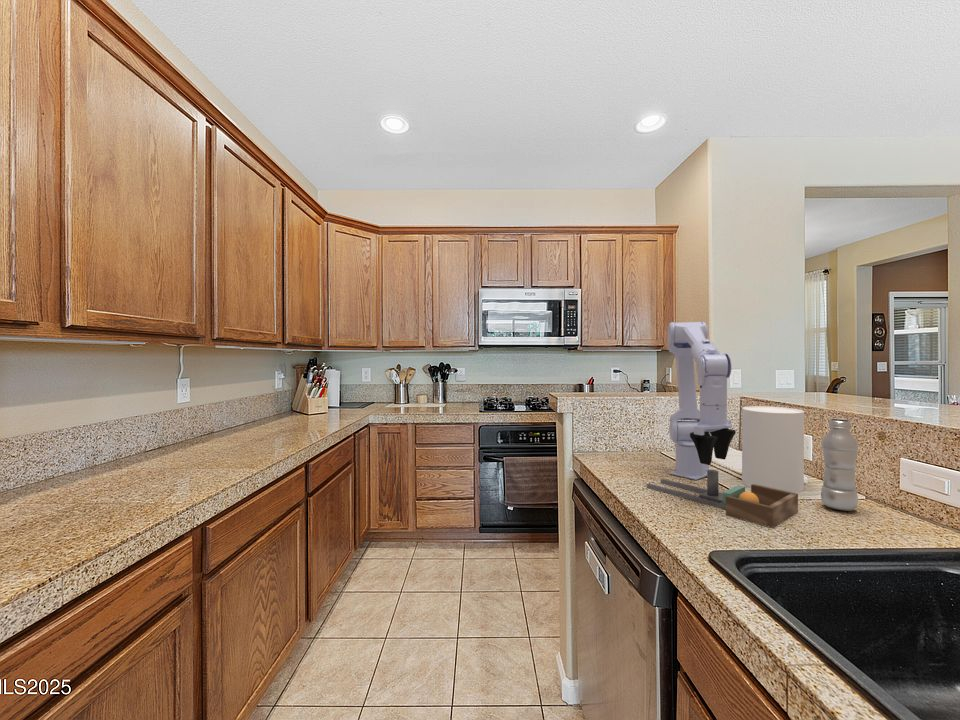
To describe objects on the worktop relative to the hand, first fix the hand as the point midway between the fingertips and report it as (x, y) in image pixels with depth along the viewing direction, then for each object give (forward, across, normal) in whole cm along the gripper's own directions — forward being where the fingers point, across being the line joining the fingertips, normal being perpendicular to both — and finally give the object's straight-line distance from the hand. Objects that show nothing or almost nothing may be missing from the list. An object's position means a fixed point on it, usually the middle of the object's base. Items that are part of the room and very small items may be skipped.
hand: (713, 461), depth 103 cm
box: (+9, 0, -10) cm, 14 cm away
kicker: (+9, 0, -1) cm, 9 cm away
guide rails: (+9, 0, +5) cm, 11 cm away
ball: (+7, 0, -8) cm, 11 cm away
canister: (+10, +24, -4) cm, 26 cm away
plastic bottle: (+10, +16, -20) cm, 27 cm away
